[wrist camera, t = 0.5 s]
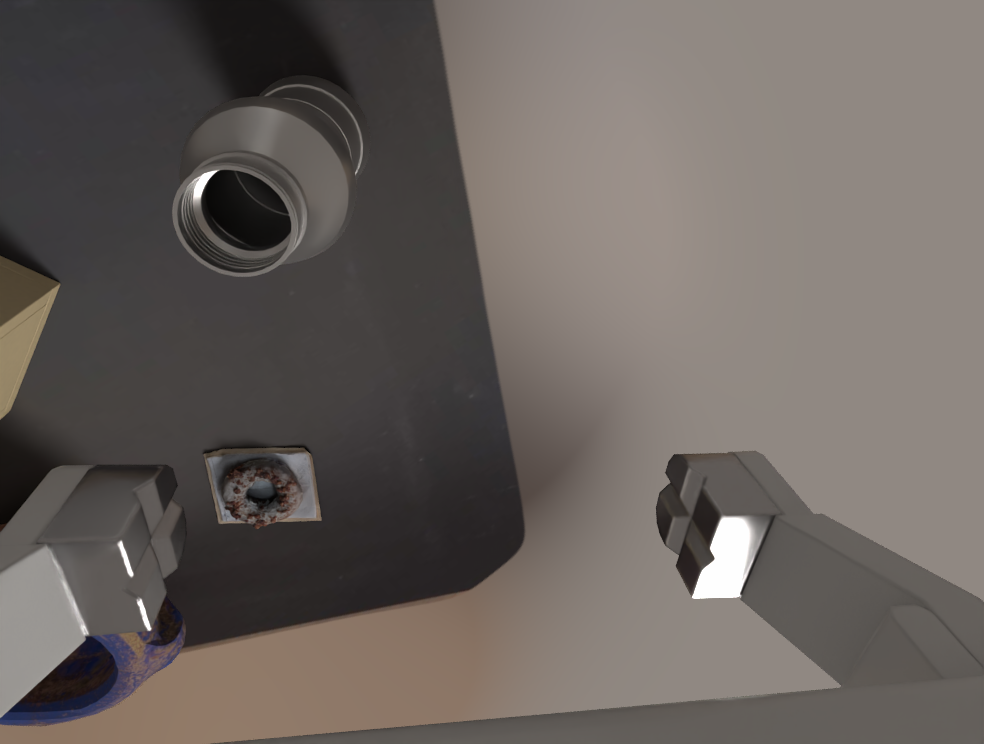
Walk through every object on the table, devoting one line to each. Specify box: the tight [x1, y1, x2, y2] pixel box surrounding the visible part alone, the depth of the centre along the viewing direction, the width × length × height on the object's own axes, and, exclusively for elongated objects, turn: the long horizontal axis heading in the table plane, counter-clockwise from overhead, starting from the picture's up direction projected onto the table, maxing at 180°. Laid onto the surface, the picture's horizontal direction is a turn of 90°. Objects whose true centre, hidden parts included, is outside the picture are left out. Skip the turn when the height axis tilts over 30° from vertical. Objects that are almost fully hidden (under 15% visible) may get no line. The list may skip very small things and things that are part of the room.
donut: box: [204, 447, 321, 529], centre depth 47 cm, size 8×8×2 cm
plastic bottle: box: [172, 75, 371, 277], centre depth 27 cm, size 6×7×20 cm
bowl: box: [0, 523, 186, 726], centre depth 45 cm, size 18×18×10 cm
